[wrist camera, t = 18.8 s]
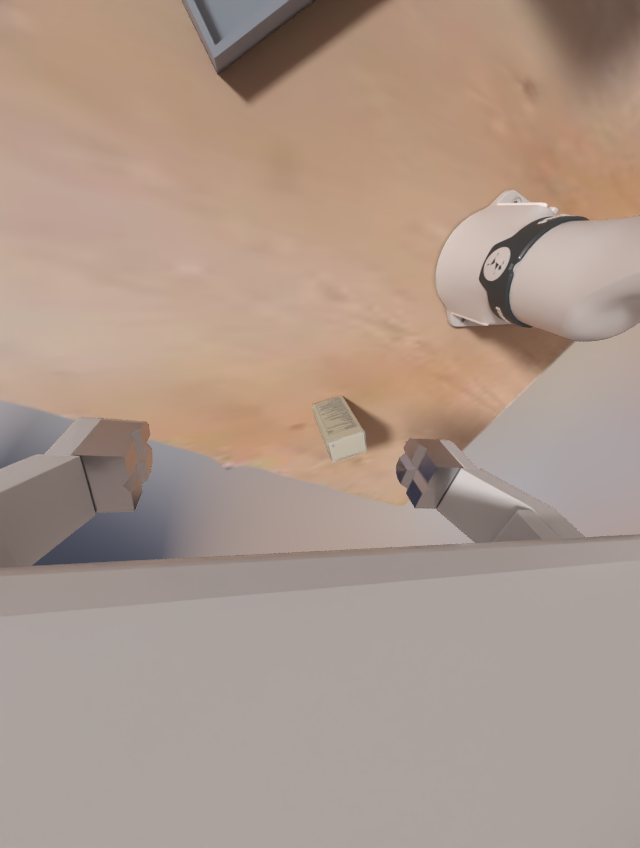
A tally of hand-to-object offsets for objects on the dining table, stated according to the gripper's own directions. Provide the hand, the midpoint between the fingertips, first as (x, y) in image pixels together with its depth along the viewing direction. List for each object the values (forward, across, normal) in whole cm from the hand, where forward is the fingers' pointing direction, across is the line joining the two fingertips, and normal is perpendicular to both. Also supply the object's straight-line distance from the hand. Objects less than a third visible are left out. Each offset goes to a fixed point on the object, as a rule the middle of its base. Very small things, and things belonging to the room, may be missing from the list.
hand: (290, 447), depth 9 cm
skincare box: (+39, -15, +20) cm, 47 cm away
